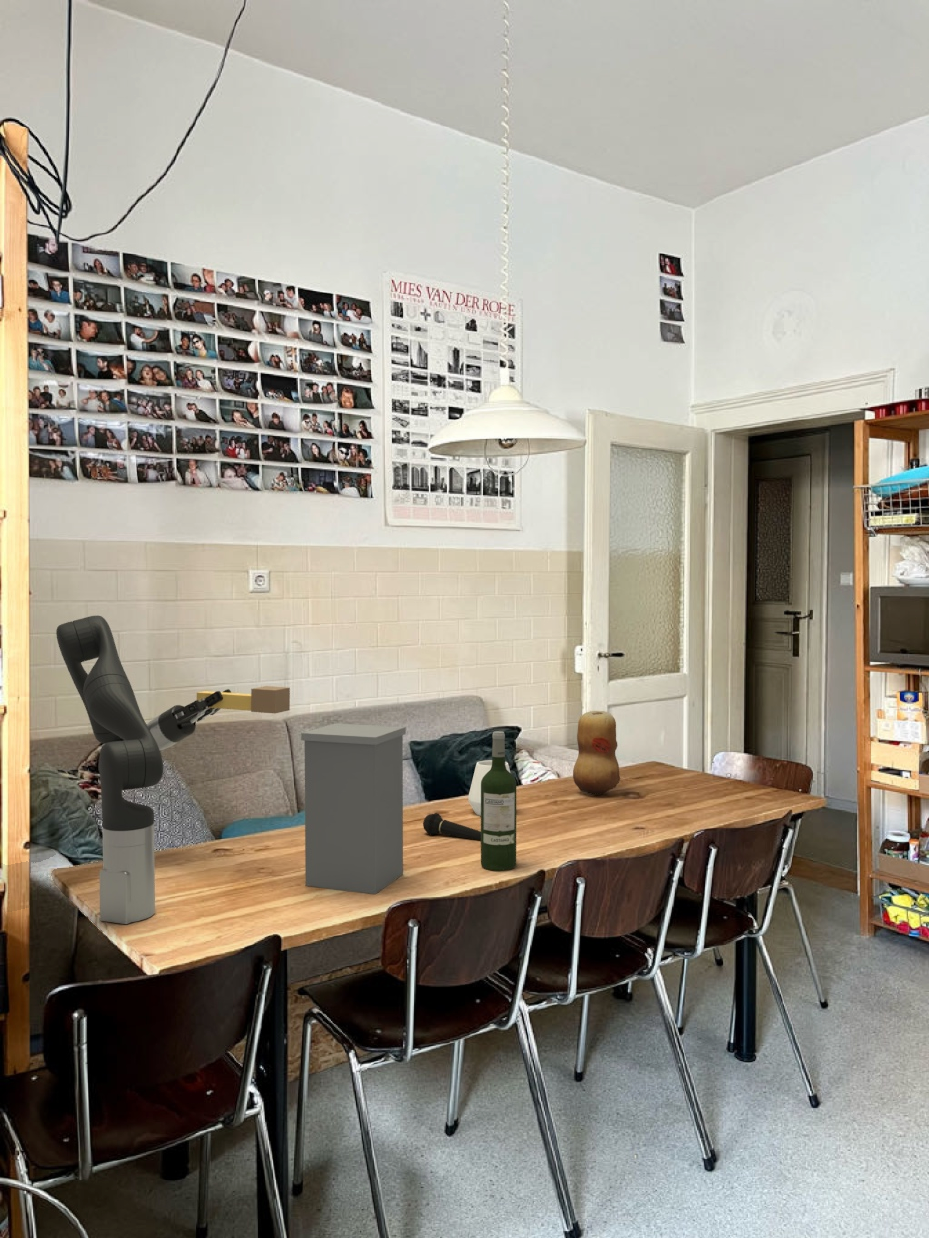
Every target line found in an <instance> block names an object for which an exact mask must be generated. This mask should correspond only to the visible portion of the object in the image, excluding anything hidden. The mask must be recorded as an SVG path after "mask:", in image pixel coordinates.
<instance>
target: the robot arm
mask: <svg viewBox="0 0 929 1238" xmlns="http://www.w3.org/2000/svg"><path fill="white" fill-rule="evenodd" d="M55 631H56V633H55V634H56V640H57V644H58V648H59V651H60V653H61V656H62V658H63V661H64V663H65V666H66V668H67V670H68V673H69V675H70V677H71V680H72V682H73V685H74V687H75V688H76V690H77V692H78V695H79V696H80V698H81V701H82V703H83V705H84V708H85V711H86V713H87V716H88V719H89V723H90V725H91V729H92V732H93V734H94V737H95V739H96V741H97V742H99V743H102V744H103V745H102V746H101V749H100V751H99V760H98V764H97V765H98V766H97V767H98V773H99V781H100V793H101V819H102V820H101V821H102V822H101V823H102V825H101V826H102V869H99V874H98V875H99V877H98V878H99V916H100V917H99V920H100V921H102V922H107V923H115V924H121V925H122V924H123V925H128V924H130V923H134V922H139V921H143V920H146V919H149V918H150V917H153V915H155V913H156V882H155V881H156V880H155V879H156V878H155V877H156V876H155V875H156V874H155V872H156V871H155V812H154V810H153V808H152V807H150V806H148V805H145V804H142V803H135V802H132V801H129V800H127V799H125V798H124V796H123V791H128V790H135V789H136V790H138V789H144V788H149V787H153V786H155V785H157V784H158V783H159V782H161V780H162V778H163V775H164V763H163V762H164V761H163V756H162V753H161V752H162V751H164V750H166V749H168V748H170V747H173V746H174V745H177V744H178V743H180V742H182V740H184V739H186V738H188V737H190V736H191V735H192V734H193V733H194V732H195V731H196V727H197V723H200V722H202V721H203V720H205V718H207V717H208V716H214V715H215V714H216V713H217V712H218V711H220V710H221V709H220V708H210V707H211V706H213V705H215V704H216V703H218V702H220V701H221V700H223V696H222V694H221V692H226V693H232V691H231V689H229V688H228V689H225V690H223V691H220V690H216V691H214V692H215V693H213V694H211V695H210V696H208V697H206V698H202V699H201V700H200V701H198V700H197V699H195V700H194V701H193V702H191V703H189V704H186V705H185V706H184V705H181V704H177V705H174V706H172V707H170V708H169V709H167V710H166V711H164V712H162V713H161V714H159V715H158V716H156V717H154V718H153V719H151V721H149V722H148V723H146V721H145V719H144V717H143V714H142V712H141V710H140V706H139V704H138V701H137V699H136V695H135V692H134V689H133V687H132V684H131V682H130V679H129V677H128V676H127V674H126V671H125V669H124V666H123V664H122V662H121V659H120V656H119V654H118V649H117V646H116V645H117V644H116V643H115V638H114V636H113V633H112V630H111V627H110V624H109V623H108V621H107V620H106V619H105V618H104V616H102V615H89V616H87V617H83V618H82V617H81V618H78V619H76V620H72V621H71V620H70V621H67V622H64V623H61V624H60V625H58V626H57V628H56V630H55ZM94 659H97V660H96V661H95V663H94V664H93V666H92V668H91V669H90V671H89V672H88V673H87V671H86V670H85V668H84V667H83V664H82V663H84V662H87V661H90V660H94ZM209 706H210V707H209ZM196 722H197V723H196Z"/></svg>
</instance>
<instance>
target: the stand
mask: <svg viewBox="0 0 929 1238" xmlns="http://www.w3.org/2000/svg"><path fill="white" fill-rule="evenodd" d="M406 730H407V729H406V726H394V725H393V726H390V725H389V726H388V725H373V724H357V723H355V724H352V723H331V724H328V725H326V726H321V727H318V728H315V729H312V730H308V731H304V732H301V734H300V740H301V741H304V853H305V854H304V856H305V858H304V859H305V861H304V863H305V864H304V865H305V867H304V868H305V869H304V870H305V873H304V874H305V875H304V876H305V887H310V888H311V887H313V888H319V889H320V888H321V889H329V890H337V891H346V892H353V893H354V892H355V893H361V894H362V893H363V894H370V895H376V894H378V893H379V892H380V891H382V890H383V889H385V888H386V887H388V886H389V885H391V884H392V883H394V882H395V881H396V880H397V878H398V879H399V878H400V877H402V876H403V875H404V805H403V804H404V799H403V797H404V795H403V794H404V792H403V790H404V787H403V786H404V785H403V783H404V779H403V778H404V776H403V775H404V774H403V769H404V768H403V767H404V766H403V762H404V761H403V760H404V759H403V757H404V756H403V753H404V752H403V751H404V750H403V748H404V747H403V742H404V739H403V738H404V735H406V734H407V733H406ZM381 889H382V890H381Z"/></svg>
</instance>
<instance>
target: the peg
mask: <svg viewBox="0 0 929 1238" xmlns="http://www.w3.org/2000/svg"><path fill="white" fill-rule="evenodd" d="M250 690H251V691H250V693H237V692H231V693H226V692H223V691H220V692H221V694H222V696H223V700H221V701H220V702H218V703H216V704H215V705H213V706H211V707H210V706H209V707H210V708H220V710H221V709H222V710H223V709H224V710H235V711H249V712H251V713H261V714H262V713H263V714H265V713H266V714H279V713H283V712H288V711H290V708H291V707H290V706H291V703H290V702H291V701H290V700H291V695H290V694H291V692H290V691H291V689H290V687H285V686H271V685H270V686H269V685H265V686H259V687H254V688H251V689H250ZM215 692H216V691H207V690H203V691H197V692H196V700H198V701H200V700H201V699H202V698H206V697H208V696H210V695H211V694H213V693H215Z"/></svg>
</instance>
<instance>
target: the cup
mask: <svg viewBox="0 0 929 1238" xmlns="http://www.w3.org/2000/svg"><path fill="white" fill-rule="evenodd" d="M505 766H506V769H507V770H508V771H509V772H510V773H511V770H510V766H509V763H508V762H507V761H505ZM491 767H492V759H489V760H488V759H487V760H486V759H485V760H480V761H477V762H476V764H475V768H474V771H473V772H474V773H473V777H472V781H471V785H470V789H469V793H468V798H467V800H468V803H469V805H470V806H471V807H472V810H473V811H474V813H475V815H477V816H480V817H481V780H482V778H483V777H484V776H485V774H486V773H487V772H488V771H490V770H491Z"/></svg>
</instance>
